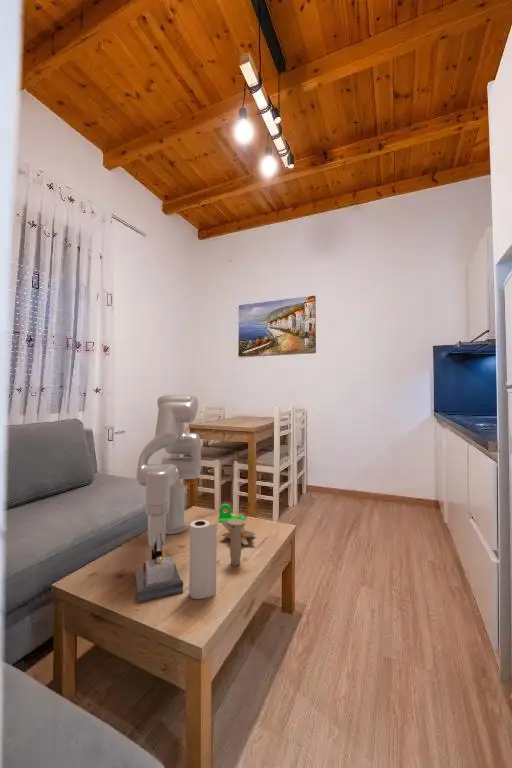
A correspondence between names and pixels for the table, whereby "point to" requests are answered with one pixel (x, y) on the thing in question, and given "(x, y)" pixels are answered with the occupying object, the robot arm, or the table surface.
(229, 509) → the mechanical part
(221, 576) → the table surface
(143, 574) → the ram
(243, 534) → the decorative flower
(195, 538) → the paper towel roll
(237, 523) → the handle
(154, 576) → the block
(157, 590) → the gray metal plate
